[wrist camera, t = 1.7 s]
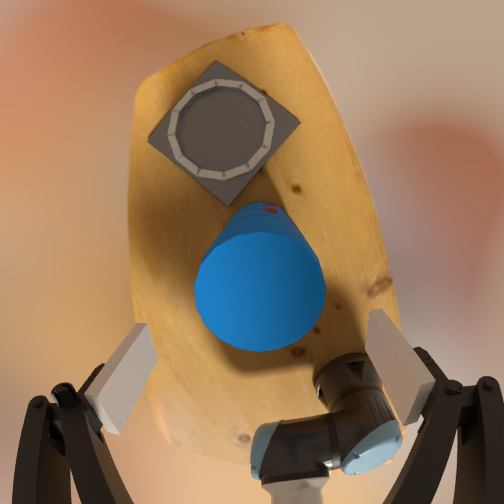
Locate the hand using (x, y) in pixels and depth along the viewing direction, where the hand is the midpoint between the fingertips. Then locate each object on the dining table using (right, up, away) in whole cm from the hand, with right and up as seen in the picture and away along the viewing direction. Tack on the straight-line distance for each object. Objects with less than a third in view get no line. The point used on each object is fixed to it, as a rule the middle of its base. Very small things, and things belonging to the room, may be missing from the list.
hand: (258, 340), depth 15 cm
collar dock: (-5, +25, +26) cm, 36 cm away
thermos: (+1, +8, +30) cm, 32 cm away
